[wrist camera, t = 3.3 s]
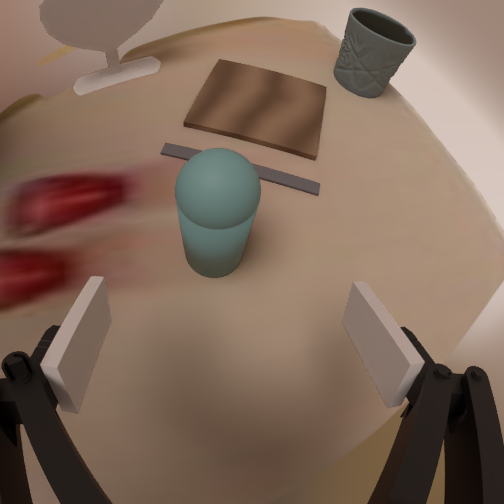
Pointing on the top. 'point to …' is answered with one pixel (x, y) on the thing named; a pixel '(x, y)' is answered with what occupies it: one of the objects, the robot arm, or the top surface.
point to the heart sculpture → (101, 35)
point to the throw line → (261, 171)
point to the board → (260, 108)
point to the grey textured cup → (371, 52)
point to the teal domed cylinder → (216, 209)
